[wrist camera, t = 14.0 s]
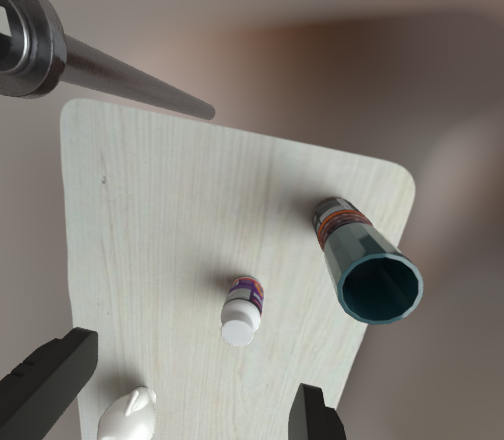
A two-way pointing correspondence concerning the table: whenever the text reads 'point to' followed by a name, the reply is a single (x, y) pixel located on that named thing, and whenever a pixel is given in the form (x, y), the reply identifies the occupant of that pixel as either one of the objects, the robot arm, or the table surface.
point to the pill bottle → (242, 311)
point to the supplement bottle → (335, 217)
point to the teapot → (129, 417)
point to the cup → (371, 275)
